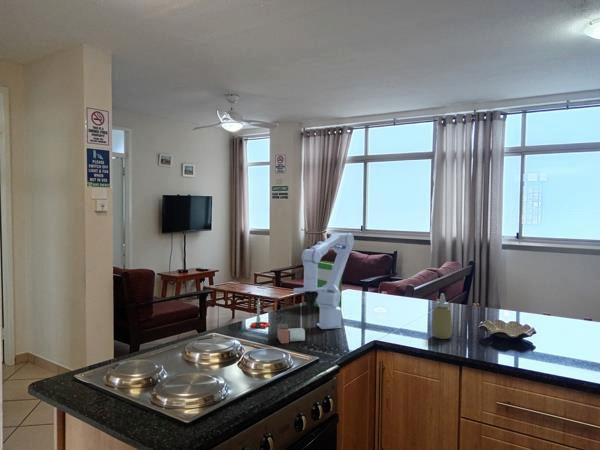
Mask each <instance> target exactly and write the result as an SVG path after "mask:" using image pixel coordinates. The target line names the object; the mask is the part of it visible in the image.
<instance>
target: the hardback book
mask: <svg viewBox="0 0 600 450" xmlns="http://www.w3.org/2000/svg"><path fill="white" fill-rule="evenodd" d="M333 264H334V262H332V261H325V260H320V262H319V263H318V275H317V287H322V286H324V285H325V284H326V283H327V281H328V278H329V275H330V273H331V270H332V267H333ZM342 278H343V275H342V276H341V279H340V282H339V285H338V289H339V291H340V292H341V295H340V302H339V305H338V306H339V307H340V309H341V310H342V292H343V291H342V288H343V287H342V286H343V284H342V281H343V279H342ZM313 307H317V308H320V307H319V306H318V304H317V303H316V300H315V302H314V305H313Z"/></svg>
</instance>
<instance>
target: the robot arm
mask: <svg viewBox="0 0 600 450" xmlns="http://www.w3.org/2000/svg"><path fill="white" fill-rule="evenodd" d="M354 244H355V238H354V234H353V233H352V232H348V233H347V232H334V231H333V232H332V233H331V234H330V235H329V237H328V238H327V239H326V240H325V241H317V243H316V244H315V245H312V246H311V247H310V248H306V249H304V250H303V251H302V254H301V255H300V256H301V261H302V265H303V287H295V288H294V287H293V294H295V295H296V294H302V295H303V298H304V300H305V303H306V307H307V310H308V311H313V310H314V302H315V300H316V303H317V304H318V306H319V307H318V308H319V322H318V323H316V326H317V327H319V328H320V329H321V330H328V329H329V330H331V329H342V327H343V326H342V308H341V309H340V307H339V306H338V305H339V302H340V295H341V292H340V291H339V289H338V285H339V282H340V279H341V276H342V277H343V273H344V271H345V269H346V264H347V262H348V259H349V256H350V253H351V252H352V249H353V247H354ZM331 248H333V252H334V253H336V257H335V259H334V262H333V263H334V264H333V267H332V270H331V273H330V275H329V278H328V281H327V283H326V284H325V285H324V286H322V287H317V275H318V263H319V262H320V261H321V260H322V258H323V257H324V256H325V255H326V254H328V253H329V249H331ZM341 296H342V295H341Z"/></svg>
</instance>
